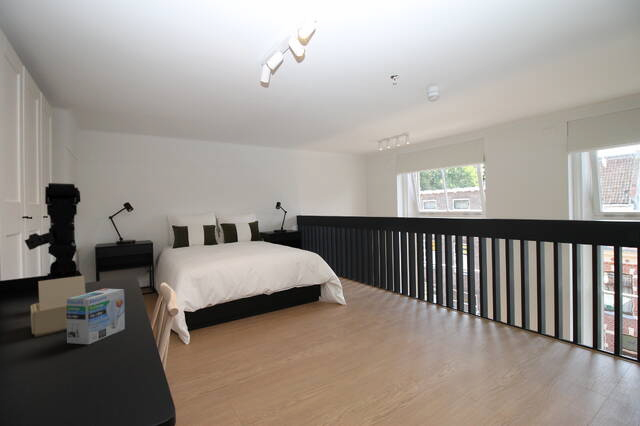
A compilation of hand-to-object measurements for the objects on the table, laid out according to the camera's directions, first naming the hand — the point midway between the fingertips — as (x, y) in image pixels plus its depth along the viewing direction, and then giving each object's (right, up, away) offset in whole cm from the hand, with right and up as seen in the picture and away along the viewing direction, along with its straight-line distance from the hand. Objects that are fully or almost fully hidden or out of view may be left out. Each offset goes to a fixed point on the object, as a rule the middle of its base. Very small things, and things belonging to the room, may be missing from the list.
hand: (63, 274), depth 94 cm
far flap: (+9, -3, -11) cm, 15 cm away
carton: (+6, -13, -8) cm, 16 cm away
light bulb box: (+23, -12, -17) cm, 31 cm away
